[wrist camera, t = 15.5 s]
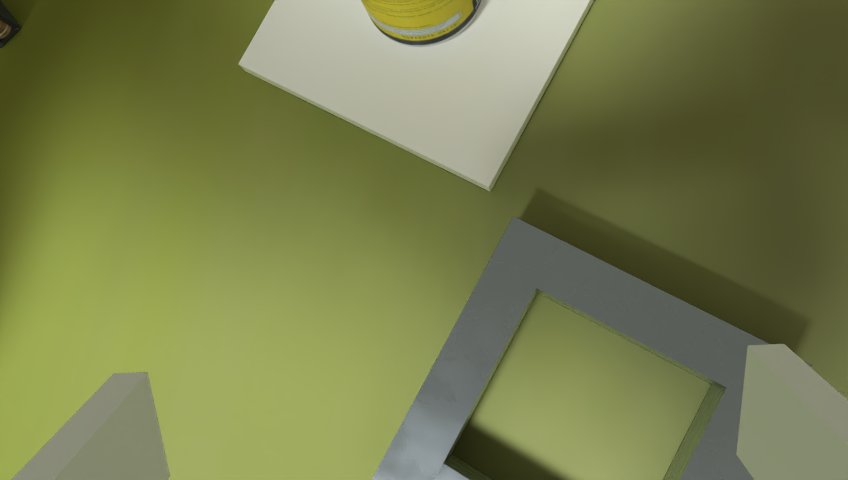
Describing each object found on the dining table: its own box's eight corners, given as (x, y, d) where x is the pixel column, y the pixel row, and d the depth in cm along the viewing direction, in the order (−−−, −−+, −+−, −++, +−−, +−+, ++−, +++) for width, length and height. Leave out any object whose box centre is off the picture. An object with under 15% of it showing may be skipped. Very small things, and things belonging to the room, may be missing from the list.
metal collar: (383, 472, 32) (370, 482, 29) (515, 226, 32) (513, 216, 30) (649, 642, 28) (658, 670, 26) (789, 363, 29) (812, 364, 26)
